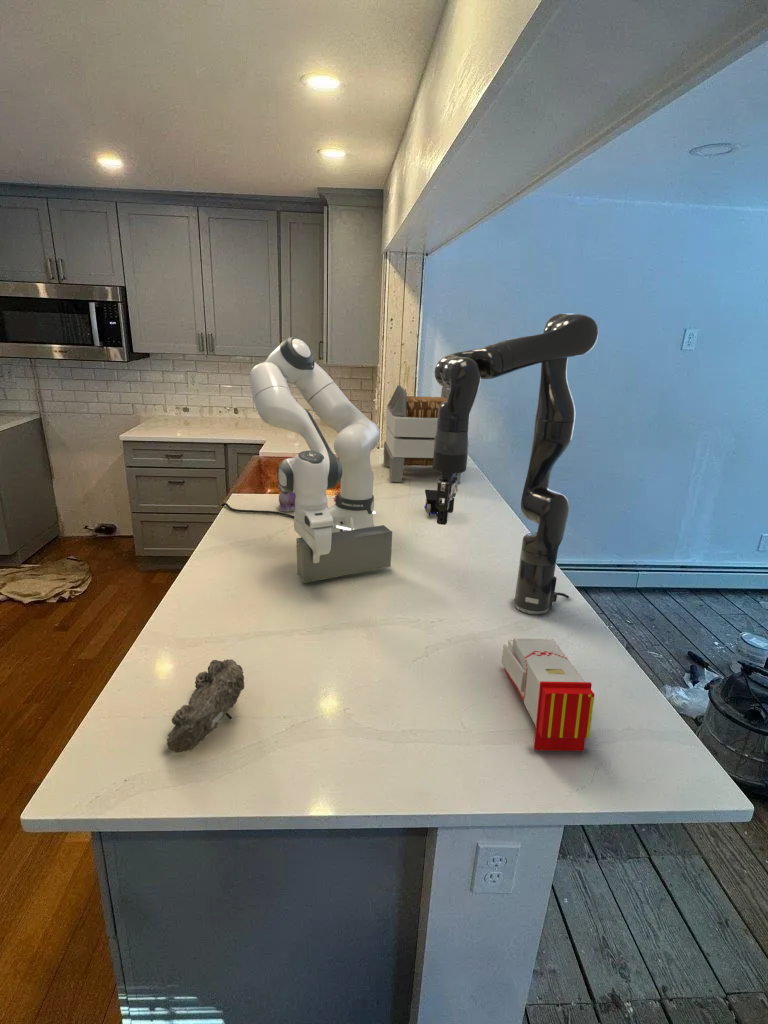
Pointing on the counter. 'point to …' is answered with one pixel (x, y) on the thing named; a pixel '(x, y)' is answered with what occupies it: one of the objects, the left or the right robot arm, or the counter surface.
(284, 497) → the figurine
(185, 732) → the fossil
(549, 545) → the right robot arm
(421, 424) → the stacked crate on legs
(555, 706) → the toy
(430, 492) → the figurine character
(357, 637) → the counter surface
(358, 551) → the box
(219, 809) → the counter surface
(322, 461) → the left robot arm
